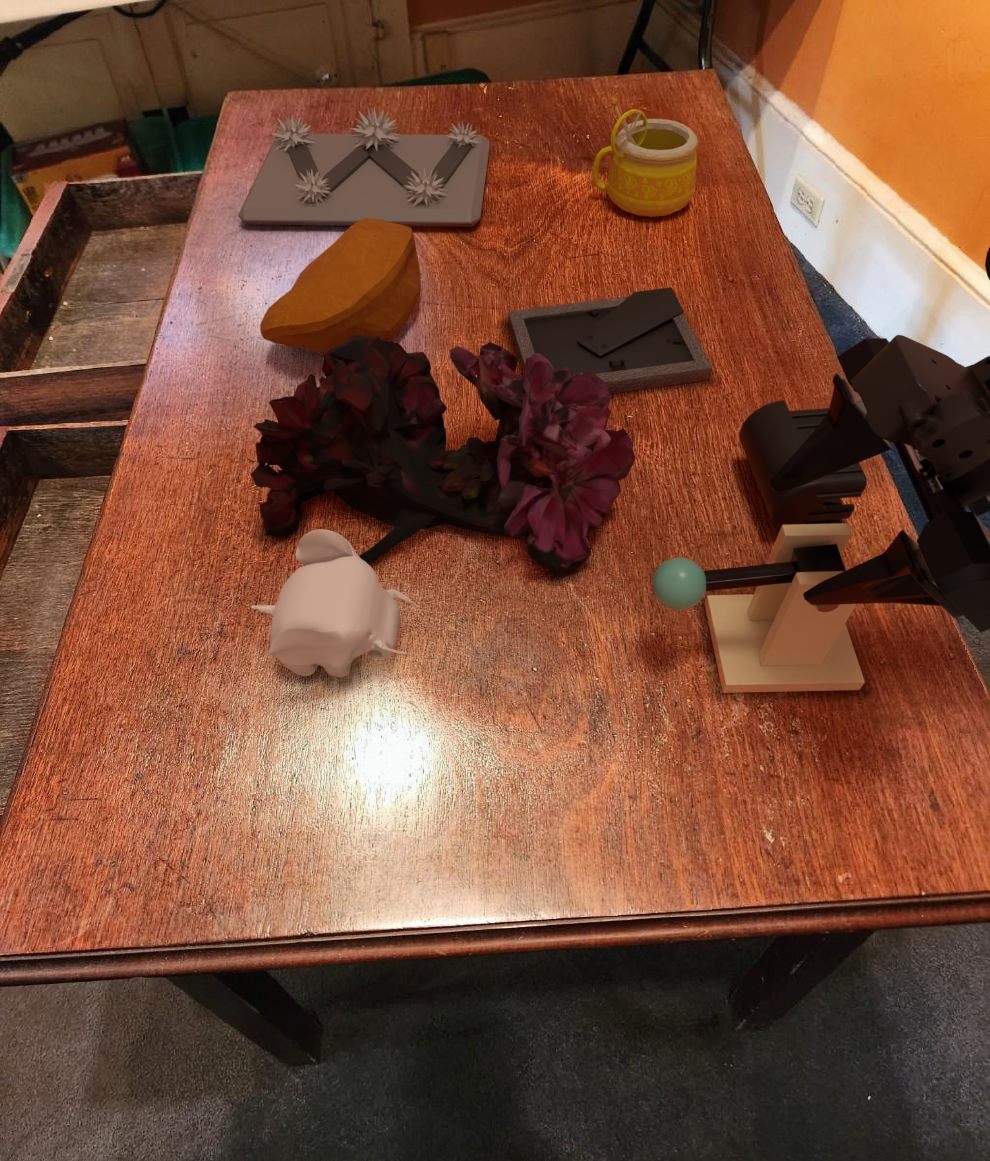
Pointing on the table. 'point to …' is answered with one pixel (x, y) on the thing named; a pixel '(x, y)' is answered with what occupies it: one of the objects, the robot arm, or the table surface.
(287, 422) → the flower arrangement
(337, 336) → the bread
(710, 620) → the bracket
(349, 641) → the elephant figurine
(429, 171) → the decorative plate
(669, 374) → the picture frame
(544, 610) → the table surface
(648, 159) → the mug
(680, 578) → the lever
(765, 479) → the end cap
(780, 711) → the table surface
